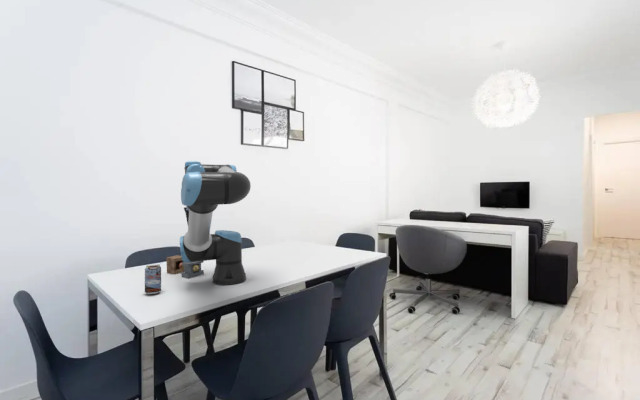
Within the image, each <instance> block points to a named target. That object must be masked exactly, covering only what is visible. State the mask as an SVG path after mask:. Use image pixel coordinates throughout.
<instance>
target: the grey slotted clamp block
mask: <svg viewBox="0 0 640 400" xmlns="http://www.w3.org/2000/svg"><path fill="white" fill-rule="evenodd" d="M203 263H204V261H198V262H184V263H181V265H184V272H182V273H181V278H184V279H188V280H189V279H192V278H195V277H200V276H202V275H204V274H205V273H204V272H205V271H204V270H202V264H203ZM192 265H198V266H199V270H198V271H197V272H196V271H193V268H192Z"/></svg>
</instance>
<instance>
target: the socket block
mask: <svg viewBox="0 0 640 400" xmlns="http://www.w3.org/2000/svg"><path fill="white" fill-rule="evenodd" d="M165 261H166V273H167V274H168V275H169V274H170V275H178V274H182V273H184V269H180V268H179V264H180V263H183V260H182V257H181V255H177V254H176V255H173V256H167V257H166V260H165Z"/></svg>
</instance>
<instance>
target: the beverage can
mask: <svg viewBox="0 0 640 400" xmlns="http://www.w3.org/2000/svg"><path fill="white" fill-rule="evenodd" d="M161 291H162V266H161V265H160V264H158V263H157V264H156V263H155V264H147V265H146V267H144V293H146V294H147V295H153V294H154V295H155V294H160V292H161Z"/></svg>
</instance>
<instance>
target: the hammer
mask: <svg viewBox="0 0 640 400" xmlns="http://www.w3.org/2000/svg"><path fill="white" fill-rule="evenodd" d="M183 263H184V262H183ZM179 268H180V269H184V265H181V263H180V264H179ZM192 268H193V271H196V272H197V271H198V270H199V266H198V265H192Z"/></svg>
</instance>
